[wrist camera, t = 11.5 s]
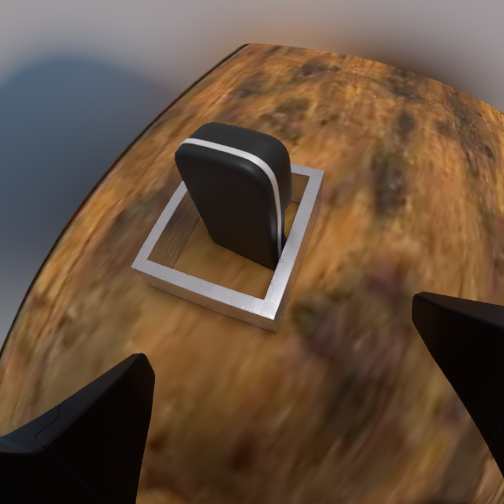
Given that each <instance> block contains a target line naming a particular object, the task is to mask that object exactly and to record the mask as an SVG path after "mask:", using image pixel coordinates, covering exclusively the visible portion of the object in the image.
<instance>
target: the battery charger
mask: <svg viewBox="0 0 504 504" xmlns="http://www.w3.org/2000/svg"><path fill="white" fill-rule="evenodd" d="M175 162H176V165H177V168H178V170H179V172H180V175H181V177H182V179H183V181H184V184H185V186H186V188H187V190H188V192H189V194H190V196H191V198H192V200H193V202H194V204H195V206H196V208H197V210H198V212H199V214H200V215H201V217H202V219H203V221H204V223H205V225H206V227H207V229H208V231H209V234H210V236H211V238H212V240H213V241H215V242H217V243H219V244H221V245H223V246H225V247H227V248H229V249H231V250H233V251H235V252H238V253H240V254H242V255H244V256H246V257H248V258H250V259H252V260H255V261H257V262H259V263H261V264H263V265H265V266H268V267H270V268H272V269H276V268H277V265H278V263H279V260H280V258H281V255H282V252H283V250H284V247H285V244H286V241H287V238H286V236H285V235H284V211H285V210H286V208H287V207H288V205H289V203H290V201H291V199H292V174H291V164H290V158H289V154H288V151H287V149H286V148H285V146H284V145H283V144H282V143H281V142H280V141H279V140H278V139H276V138H274V137H272V136H270V135H267V134H264V133H261V132H257V131H253V130H249V129H246V128H242V127H237V126H232V125H227V124H222V123H214V122H212V123H207V124H204V125H202V126H201V127H200V128H199V129H197V130H196V131H195V132H194V133H193V134H192V135H191V136H190V137H189V138H188V139H186V140H184V141H183V142H182V143H181V144H180V145H179V148H178V150H177V151H176V153H175Z"/></svg>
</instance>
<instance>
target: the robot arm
mask: <svg viewBox="0 0 504 504" xmlns="http://www.w3.org/2000/svg"><path fill="white" fill-rule="evenodd" d="M412 321H413V323H414V325H415V327H416V329H417V330H418V332H419V334H420V336H421V338H422V339H423V341H424V343H425V345H426V347H427V348H428V350H429V352H430V354H431V355H432V357H433V358H434V360H435V361H436V363H437V364H438V366H439V367H440V369H441V370H442V372H443V373H444V375H445V376H446V378H447V379H448V381H449V382H450V384H451V385H452V387H453V388H454V390H455V391H456V393H457V395H458V396H459V398H460V399H461V401H462V403H463V404H464V406H465V407H466V409H467V411H468V412H469V414H470V416H471V417H472V419H473V421H474V422H475V424H476V426H477V428H478V429H479V431H480V433H481V435H482V436H483V438H484V440H485V442H486V444H487V446H489V447H488V448H489V450H490V452H491V453H492V455H493V457H494V459H495V461H496V463H497V465H498V467H499V469H500V471H501V473H502V475H503V477H504V306H500V305H495V304H489V303H484V302H478V301H473V300H467V299H462V298H457V297H451V296H446V295H440V294H435V293H430V292H421V293H418V294H415V295H414V296H413V302H412ZM154 384H155V374H154V371H153V369H152V367H151V365H150V363H149V361H148V359H147V357H146V355H145V354H143V353H137V354H132V355H130V356H129V357H128V358H126V359H125V360H123V361H122V362H120V363H119V364H117V365H116V366H114V367H113V368H112V369H110V370H109V371H107V372H106V373H104V374H103V375H101V376H100V377H98V378H97V379H95V380H94V381H92V382H91V383H89V384H88V385H87V386H85V387H84V388H82V389H81V390H79V391H78V392H76V393H75V394H73V395H72V396H70V397H69V398H67V399H66V400H64V401H63V402H61V404H58V405H57V406H55V407H54V408H52V409H51V410H49V411H47V412H46V413H44V414H43V415H41V416H39V417H38V418H36V419H34V420H32V421H31V422H29V423H27V424H25V425H23V426H22V427H20V428H18V429H16V430H14V431H12V432H11V433H9V434H7V435H5V436H2V437H0V504H135V503H136V496H137V489H138V483H139V477H140V471H141V465H142V460H143V454H144V449H145V444H146V439H147V434H148V429H149V424H150V419H151V413H152V404H153V394H154Z"/></svg>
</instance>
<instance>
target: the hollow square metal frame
mask: <svg viewBox="0 0 504 504" xmlns="http://www.w3.org/2000/svg"><path fill="white" fill-rule="evenodd" d="M290 164H291V163H290ZM291 174H292V199H291V202H296V203H300V206H299V209H298V212H297V214H296V217H295V220H294V223H293V225H292V228H291V231H290V233H289V236H288V239H287V241H286V244H285V247H284V250H283V252H282V255H281V258H280V260H279V263H278V265H277V268H276V271H275V273H274V276H273V279H272V281H271V284H270V286H269V289H268V291H267V294H266V297H265V299H264V300H261V299H258V298H255V297H252V296H249V295H246V294H243V293H240V292H237V291H234V290H231V289H228V288H225V287H222V286H219V285H216V284H213V283H210V282H207V281H205V280H202V279H199V278H196V277H193V276H190V275H187V274H185V273H182V272H179V271H176V270H174V269H172V268H173V266H174V264H175V262H176V260H177V259H178V257H179V255H180V253H181V251H182V249H183V247H184V245H185V243H186V241H187V240H188V238H189V236H190V234H191V232H192V230H193V229H194V227H195V225H196V223H197V221H198V219H199V218H200V216H201V215H200V214H199V212H198V210H197V208H196V206H195V204H194V202H193V200H192V198H191V196H190V194H189V192H188V190H187V188H186V186H185V184H184V181H182V183H181V184H180V186H179V187H178V189H177V190H176V192H175V193H174V195H173V197H172V198H171V200H170V201H169V203H168V205H167V206H166V208H165V209H164V211H163V213H162V214H161V216H160V218H159V219H158V221H157V223H156V224H155V226H154V228H153V229H152V231H151V233H150V234H149V236H148V238H147V240H146V241H145V243H144V245H143V247H142V248H141V250H140V252H139V254H138V256H137V257H136V259H135V261H134V263H133V265H132V266H131V267H132V268H133V269H134V270H135V271H136V272H137V273H138V274H139V275H140V276H142V277H143V278H144V279H145V280H146V281H147V282H148V283H149V284H151V285H152V286H153V287H155V288H158V289H160V290H162V291H165V292H167V293H170V294H172V295H175V296H177V297H180V298H182V299H185V300H187V301H190V302H192V303H195V304H197V305H200V306H202V307H205V308H208V309H210V310H213V311H216V312H218V313H221V314H224V315H227V316H229V317H232V318H235V319H238V320H240V321H243V322H246V323H249V324H252V325H255V326H258V327H261V328H264V329H266V330H269V331H272V332H275V333H277V330H278V328H279V325H280V322H281V320H282V317H283V314H284V311H285V309H286V306H287V303H288V300H289V298H290V295H291V292H292V289H293V286H294V283H295V281H296V278H297V275H298V272H299V269H300V266H301V263H302V260H303V257H304V254H305V251H306V248H307V245H308V242H309V239H310V236H311V233H312V229H313V226H314V223H315V220H316V217H317V214H318V210H319V207H320V204H321V201H322V191H323V181H324V171H323V170H319V169H314V168H310V167H305V166H300V165H296V164H291Z"/></svg>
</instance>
